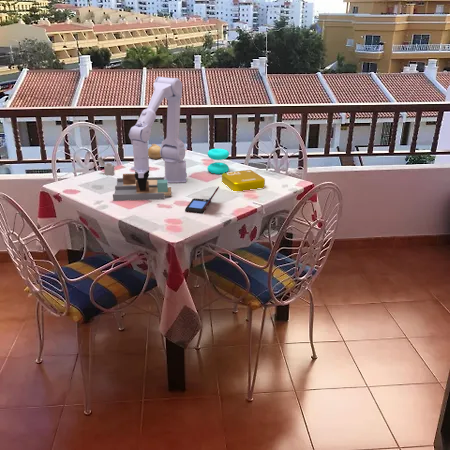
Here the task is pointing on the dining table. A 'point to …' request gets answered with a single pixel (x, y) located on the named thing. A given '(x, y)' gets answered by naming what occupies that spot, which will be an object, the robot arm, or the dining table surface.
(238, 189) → the element tile
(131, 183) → the broken strip front
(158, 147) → the onion
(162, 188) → the teal cube
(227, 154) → the donuts
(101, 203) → the dining table surface
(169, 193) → the oak strip
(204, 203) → the handheld game console
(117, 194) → the slate board
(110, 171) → the lighter
